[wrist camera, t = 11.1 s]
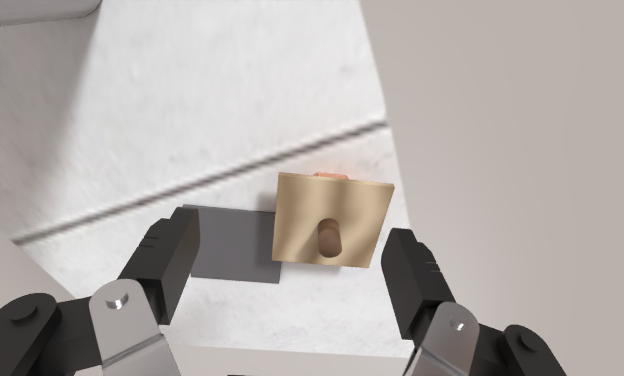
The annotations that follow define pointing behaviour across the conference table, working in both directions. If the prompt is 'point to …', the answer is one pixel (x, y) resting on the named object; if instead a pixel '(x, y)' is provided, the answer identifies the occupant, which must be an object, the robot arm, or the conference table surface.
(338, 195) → the oak lid
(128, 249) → the conference table surface
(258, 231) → the rubber mat
